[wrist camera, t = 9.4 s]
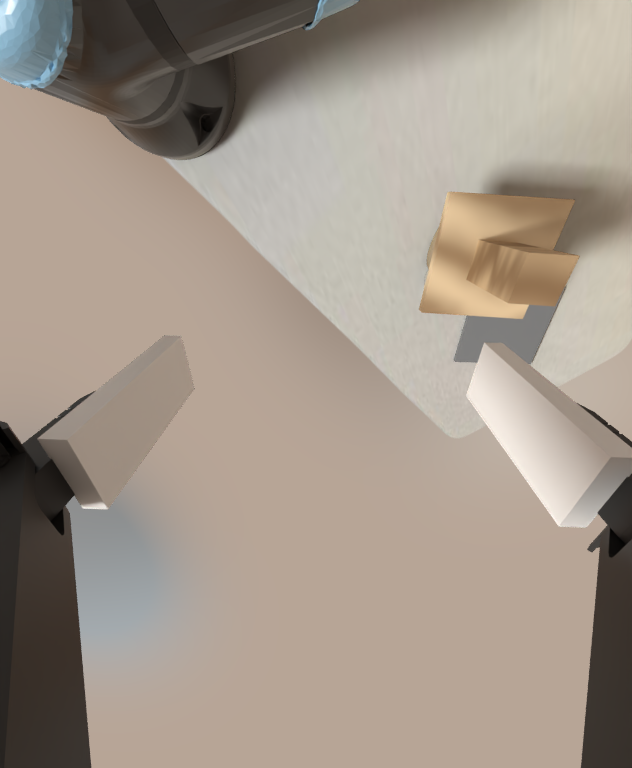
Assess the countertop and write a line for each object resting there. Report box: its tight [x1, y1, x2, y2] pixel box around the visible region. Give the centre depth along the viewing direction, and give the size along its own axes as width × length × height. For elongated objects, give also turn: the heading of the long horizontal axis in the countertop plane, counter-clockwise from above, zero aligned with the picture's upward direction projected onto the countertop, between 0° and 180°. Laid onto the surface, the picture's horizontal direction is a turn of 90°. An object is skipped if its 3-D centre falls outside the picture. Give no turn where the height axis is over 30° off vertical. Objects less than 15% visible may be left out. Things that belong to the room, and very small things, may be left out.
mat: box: [454, 287, 565, 364], centre depth 44 cm, size 12×12×1 cm
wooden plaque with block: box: [419, 192, 580, 319], centre depth 28 cm, size 12×12×10 cm
